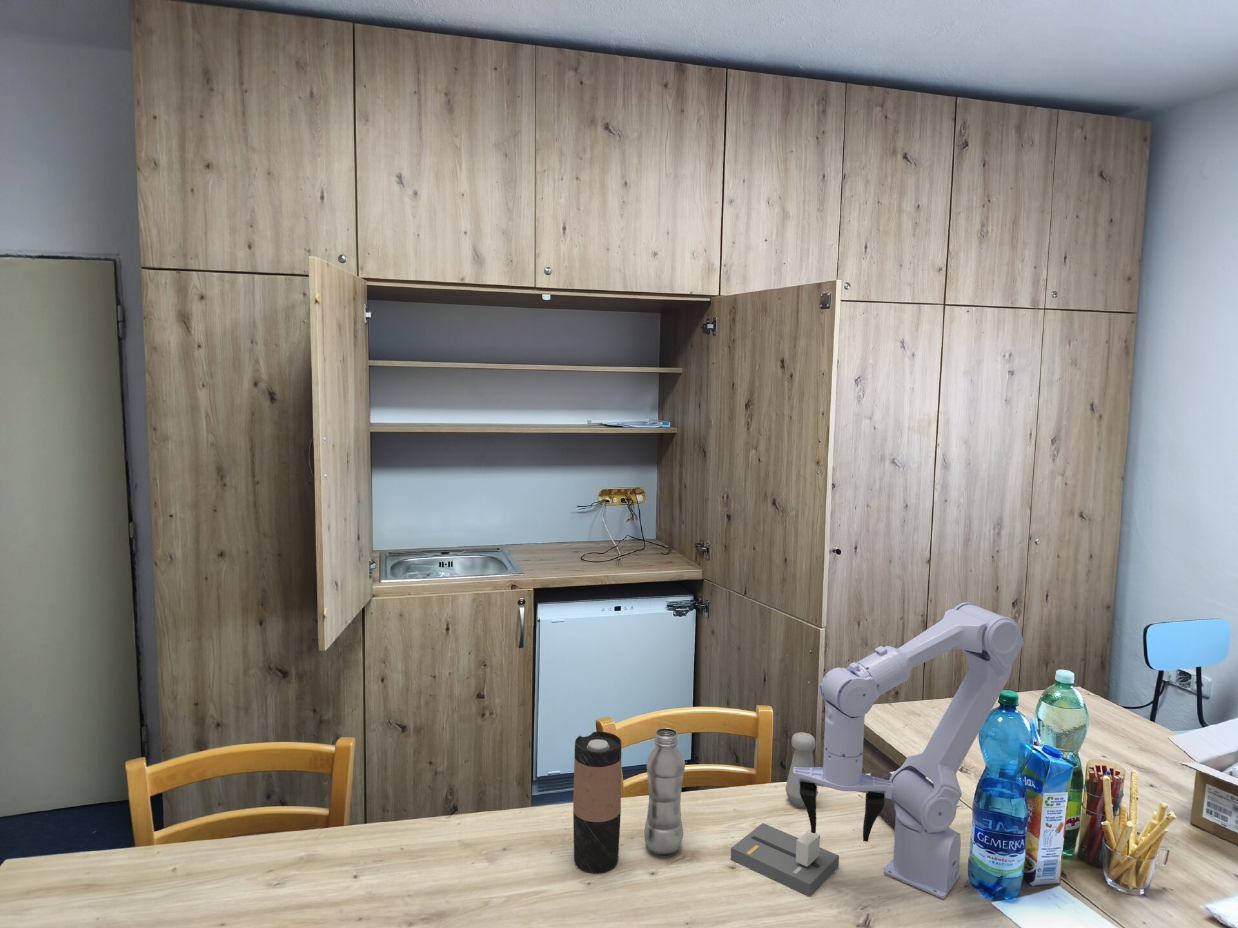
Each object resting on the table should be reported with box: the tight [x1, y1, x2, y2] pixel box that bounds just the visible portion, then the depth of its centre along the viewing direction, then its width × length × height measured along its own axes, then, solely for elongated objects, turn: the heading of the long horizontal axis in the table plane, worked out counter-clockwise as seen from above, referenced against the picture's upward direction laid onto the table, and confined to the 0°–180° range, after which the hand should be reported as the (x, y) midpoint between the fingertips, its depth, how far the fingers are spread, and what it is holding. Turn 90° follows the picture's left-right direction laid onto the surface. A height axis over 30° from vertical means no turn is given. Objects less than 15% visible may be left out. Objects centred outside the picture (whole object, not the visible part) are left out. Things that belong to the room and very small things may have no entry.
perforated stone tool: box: [869, 769, 896, 829], centre depth 138 cm, size 15×5×7 cm, turn 6°
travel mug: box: [572, 731, 622, 874], centre depth 125 cm, size 8×8×20 cm
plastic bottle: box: [643, 727, 686, 856], centre depth 129 cm, size 6×7×20 cm
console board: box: [730, 822, 840, 898], centre depth 126 cm, size 14×10×2 cm
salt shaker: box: [785, 731, 819, 809], centre depth 144 cm, size 6×6×13 cm
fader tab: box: [796, 829, 821, 867], centre depth 123 cm, size 2×4×4 cm, turn 139°
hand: (839, 833), depth 120 cm, fingers open, 7 cm apart
